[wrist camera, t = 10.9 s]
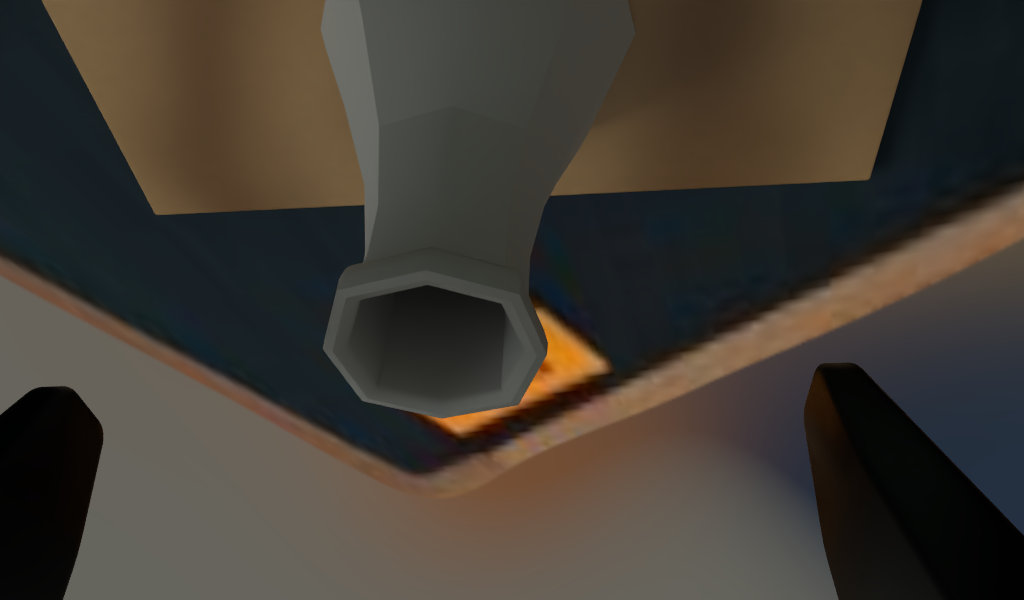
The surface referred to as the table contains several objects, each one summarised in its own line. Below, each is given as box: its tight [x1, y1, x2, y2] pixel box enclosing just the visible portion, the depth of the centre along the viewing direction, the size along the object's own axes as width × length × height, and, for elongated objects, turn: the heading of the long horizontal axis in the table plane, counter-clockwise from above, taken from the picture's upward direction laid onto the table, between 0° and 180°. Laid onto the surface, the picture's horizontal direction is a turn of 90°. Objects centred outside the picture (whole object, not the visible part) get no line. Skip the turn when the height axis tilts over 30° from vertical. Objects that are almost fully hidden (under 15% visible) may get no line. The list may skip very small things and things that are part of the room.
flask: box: [321, 0, 636, 418], centre depth 15 cm, size 7×7×10 cm
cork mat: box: [42, 0, 923, 215], centre depth 18 cm, size 20×10×1 cm, turn 95°
